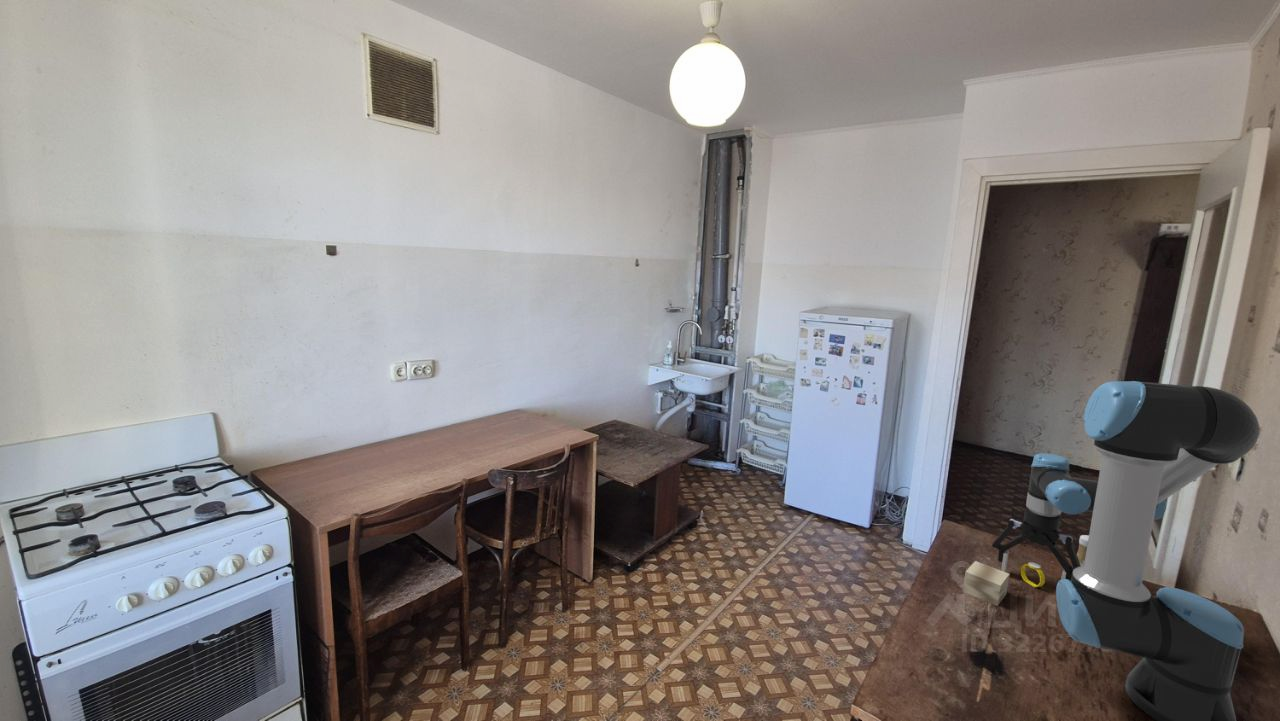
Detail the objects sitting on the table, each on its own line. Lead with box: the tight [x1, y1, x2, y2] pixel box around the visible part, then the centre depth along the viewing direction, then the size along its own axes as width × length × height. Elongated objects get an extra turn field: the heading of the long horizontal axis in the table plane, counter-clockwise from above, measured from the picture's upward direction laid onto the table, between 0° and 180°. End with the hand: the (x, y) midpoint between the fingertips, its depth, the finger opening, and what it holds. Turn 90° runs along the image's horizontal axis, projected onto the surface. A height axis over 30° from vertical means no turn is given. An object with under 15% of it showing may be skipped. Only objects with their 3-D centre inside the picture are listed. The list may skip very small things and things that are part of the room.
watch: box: [1019, 561, 1046, 588], centre depth 142 cm, size 6×3×6 cm, turn 13°
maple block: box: [962, 560, 1011, 607], centre depth 138 cm, size 8×8×6 cm
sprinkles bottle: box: [1076, 534, 1089, 566], centre depth 141 cm, size 5×5×13 cm
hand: (1031, 583), depth 142 cm, fingers open, 12 cm apart
